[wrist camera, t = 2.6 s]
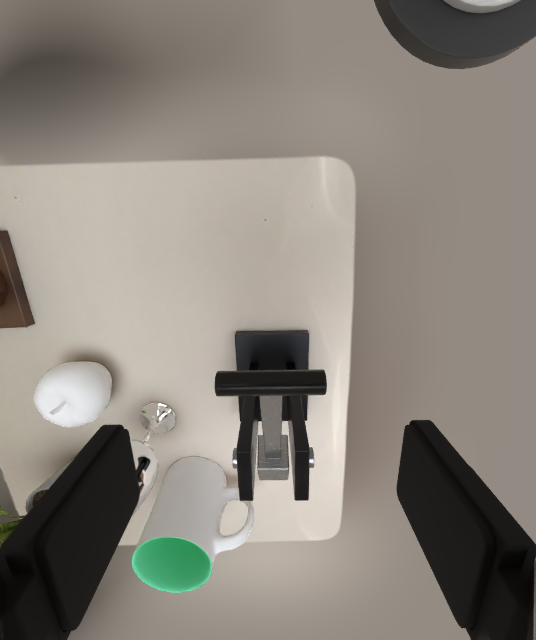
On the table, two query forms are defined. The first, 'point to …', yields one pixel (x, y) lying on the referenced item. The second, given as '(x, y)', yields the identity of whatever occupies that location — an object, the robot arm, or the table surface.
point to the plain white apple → (73, 393)
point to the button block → (12, 289)
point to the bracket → (282, 355)
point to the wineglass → (145, 458)
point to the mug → (187, 527)
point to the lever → (271, 408)
